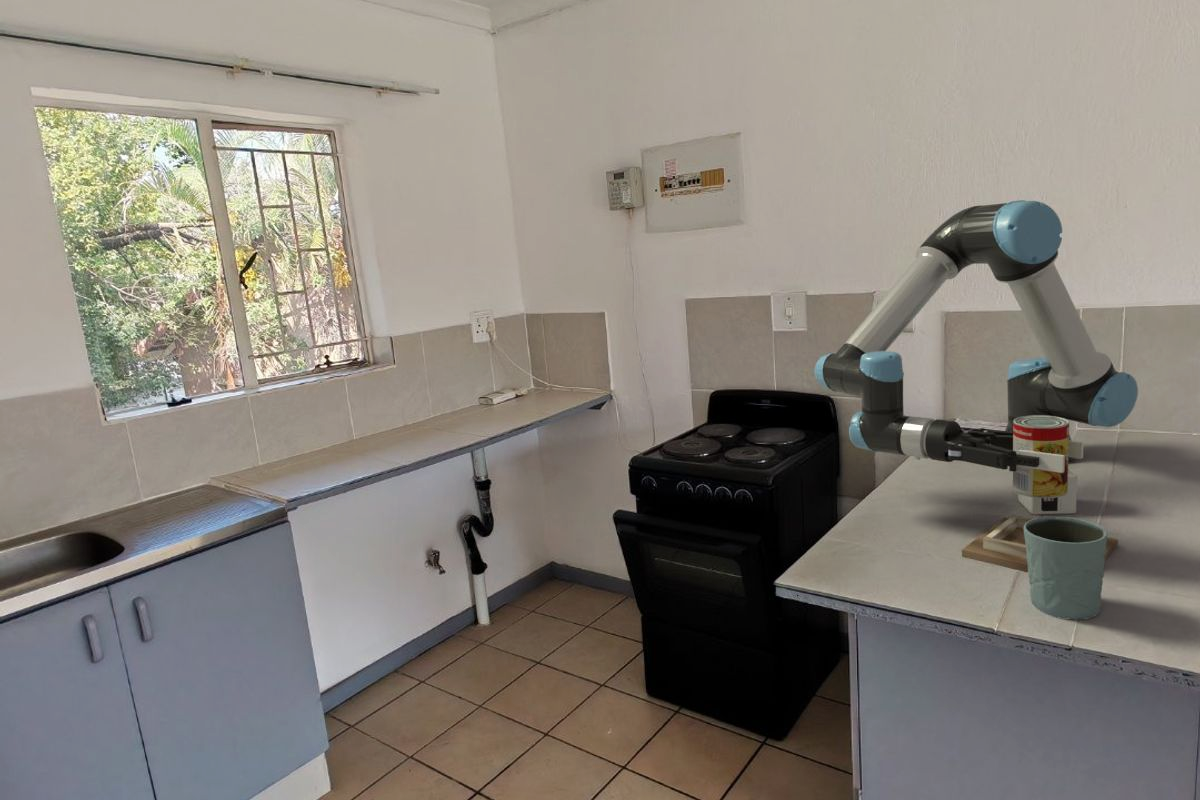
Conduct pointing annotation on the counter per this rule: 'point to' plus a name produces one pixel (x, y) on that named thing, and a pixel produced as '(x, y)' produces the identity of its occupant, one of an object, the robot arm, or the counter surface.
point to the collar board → (1009, 544)
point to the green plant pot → (1065, 565)
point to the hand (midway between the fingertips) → (1073, 457)
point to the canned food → (1045, 438)
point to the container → (1053, 500)
